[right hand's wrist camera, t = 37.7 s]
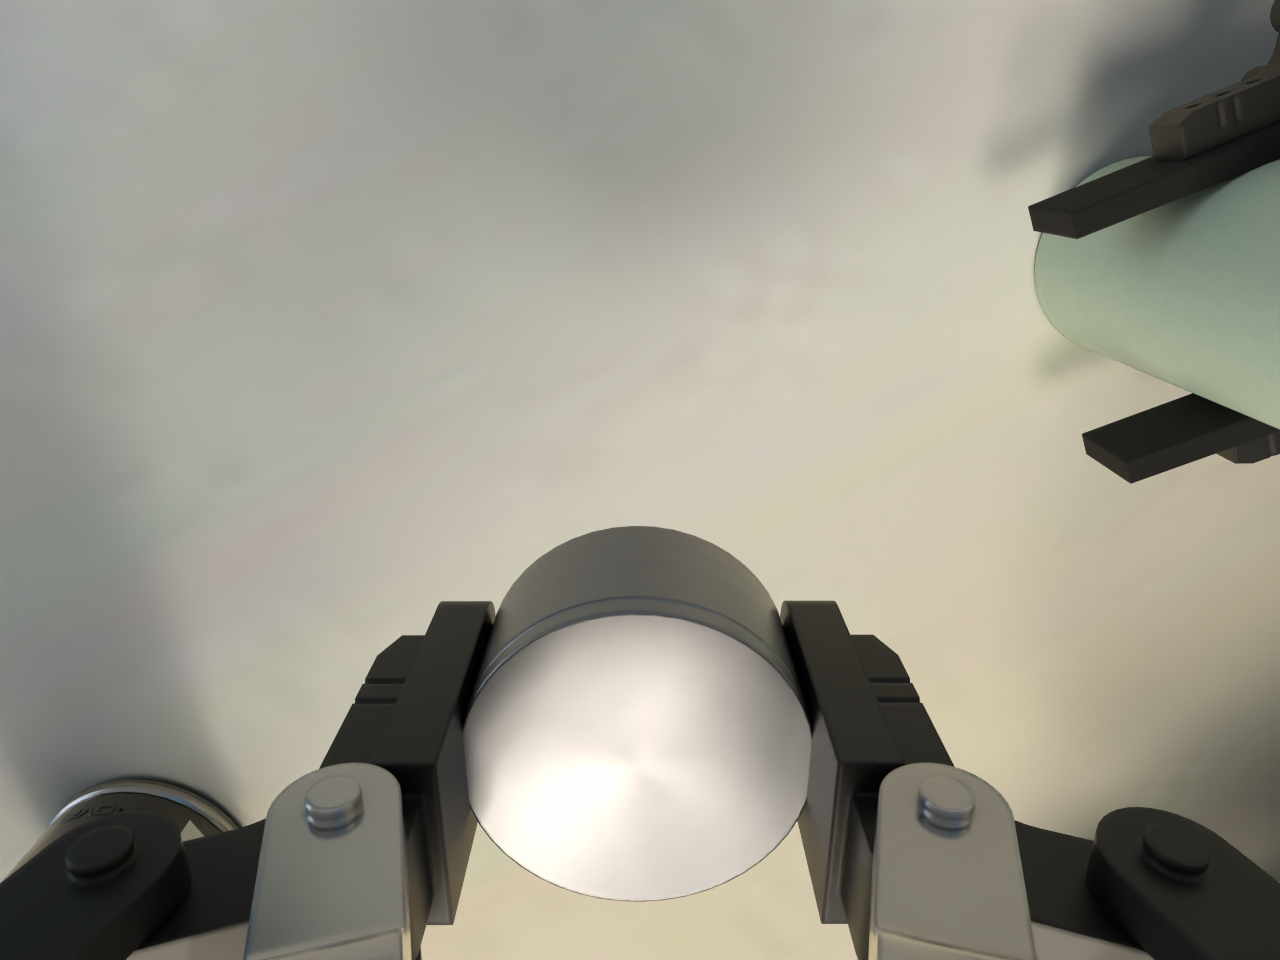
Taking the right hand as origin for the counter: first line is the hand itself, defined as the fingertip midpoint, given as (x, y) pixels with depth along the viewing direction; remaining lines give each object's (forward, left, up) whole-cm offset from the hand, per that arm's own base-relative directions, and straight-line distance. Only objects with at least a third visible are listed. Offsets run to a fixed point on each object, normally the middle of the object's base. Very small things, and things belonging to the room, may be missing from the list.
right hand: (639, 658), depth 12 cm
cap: (0, 0, +2) cm, 2 cm away
